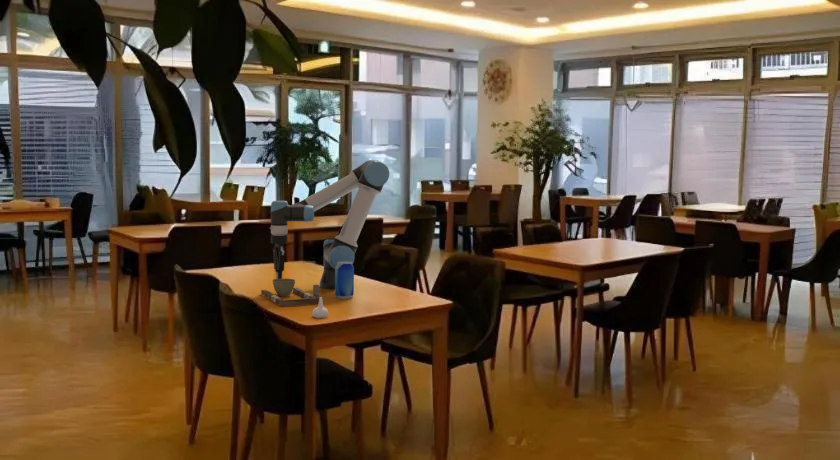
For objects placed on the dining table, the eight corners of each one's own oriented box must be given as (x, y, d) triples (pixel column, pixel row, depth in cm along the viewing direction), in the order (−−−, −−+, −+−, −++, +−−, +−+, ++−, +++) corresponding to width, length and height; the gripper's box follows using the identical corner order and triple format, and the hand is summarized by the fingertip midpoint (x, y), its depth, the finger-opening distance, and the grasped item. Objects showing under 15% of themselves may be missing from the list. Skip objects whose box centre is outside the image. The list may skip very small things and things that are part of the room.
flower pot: (290, 298, 349) (290, 282, 348) (269, 296, 351) (269, 281, 350) (298, 294, 358) (298, 278, 358) (277, 293, 360) (277, 277, 360)
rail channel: (261, 294, 357) (261, 281, 356) (304, 291, 366) (304, 278, 366) (281, 306, 329) (281, 292, 328) (328, 303, 338) (328, 289, 338)
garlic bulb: (319, 320, 306) (320, 300, 305) (308, 316, 310) (310, 296, 309) (331, 318, 311) (332, 298, 309) (320, 314, 315) (322, 295, 314)
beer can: (338, 299, 347) (339, 263, 345) (332, 296, 354) (332, 261, 353) (356, 298, 351) (356, 263, 349) (349, 295, 358) (349, 260, 357)
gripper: (267, 233, 363) (267, 283, 365) (275, 236, 351) (274, 288, 353) (283, 232, 366) (282, 282, 368) (291, 235, 354) (291, 287, 357)
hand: (279, 285), depth 361 cm, fingers closed
